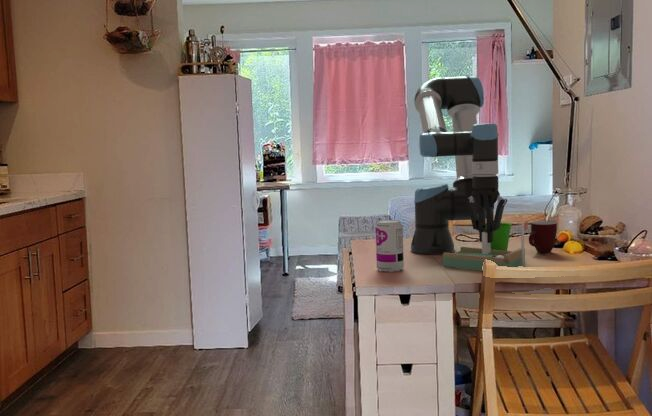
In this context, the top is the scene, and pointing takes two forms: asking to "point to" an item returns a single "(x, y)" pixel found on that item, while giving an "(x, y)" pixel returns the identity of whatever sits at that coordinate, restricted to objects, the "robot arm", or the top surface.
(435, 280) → the top surface
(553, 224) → the mug
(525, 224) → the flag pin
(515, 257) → the green tray
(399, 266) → the supplement can
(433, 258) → the top surface
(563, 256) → the top surface
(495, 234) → the cup
